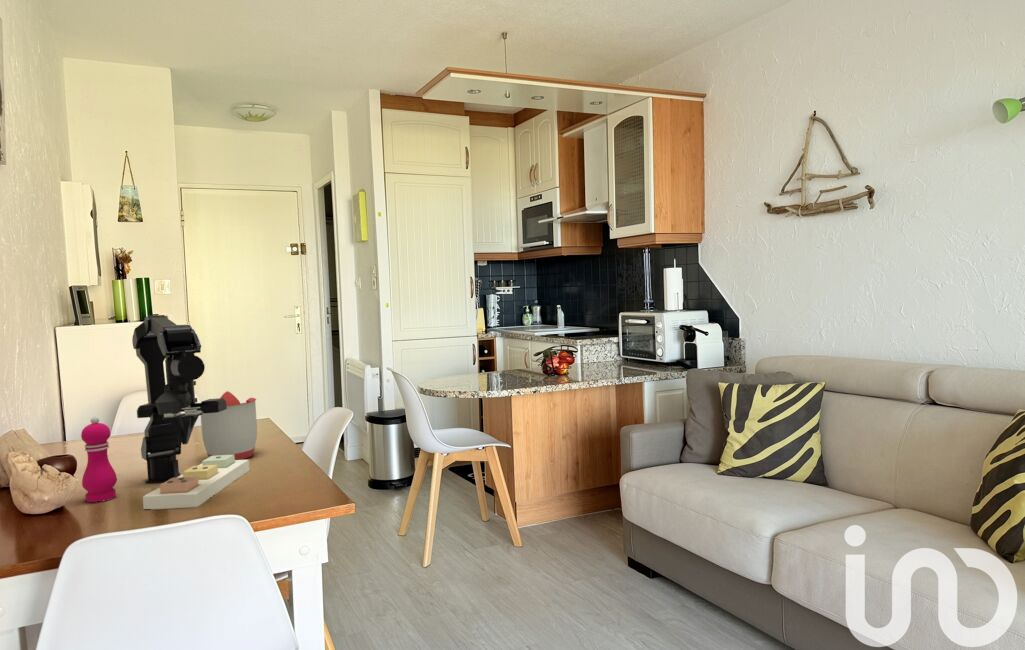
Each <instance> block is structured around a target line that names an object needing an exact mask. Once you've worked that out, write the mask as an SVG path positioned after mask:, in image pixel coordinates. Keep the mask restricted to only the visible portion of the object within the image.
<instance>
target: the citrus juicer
mask: <svg viewBox="0 0 1025 650" xmlns="http://www.w3.org/2000/svg"><path fill="white" fill-rule="evenodd" d="M219 398H223V399H224V400H225V401H226V405H227V409H225V410H223V411H220V412H217V413H205V414H204V413H203V414H202V415H200V423H201V435H202V437H201V438H202V442H203V446H204V449H205V450H206V455H207V456H208V458H209V457H211V456H216V455H234V458H235V460H246V459H247V458H248V459H249V457H250V458H251V457H252V456H253V455H254V451H255V449H256V444H257V442H256V441H257V435H258V424H257V423H258V421H257V409H256V401H257V398H255V397H249V398H247V399H246V400H245V402H243V403H241V401H240V400H239V399H238V398H237V397H236V396H235V395H234V394H233V393H232V392H230V391H228V390H226V391H225V392H223V394H222V395H221V396H220V397H219ZM201 412H202V411H201Z"/></svg>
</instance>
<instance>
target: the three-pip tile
mask: <svg viewBox="0 0 1025 650" xmlns="http://www.w3.org/2000/svg"><path fill="white" fill-rule="evenodd" d="M197 486H199V485H198V476H197V477H179V476H178V478H177V477H176V478H171V479H169V480H168V481H166V482H162V483H161V484H159V487H160V493H161V494H170V493H188V492H189V491H191V490H193V489H194V488H196V487H197Z"/></svg>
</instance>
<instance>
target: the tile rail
mask: <svg viewBox="0 0 1025 650" xmlns="http://www.w3.org/2000/svg"><path fill="white" fill-rule="evenodd" d="M197 466H202V463H200V464H198V465H197ZM249 471H250V459H240V460H235V463H234V464H232V465H230V466H229V467H227V468H218V474H216V475H215V476H213V477H212V478H210V479H207V480H198V485H199V486H197V487H196V488H194V489H193V490H191V491H189V492H188V493H170V494H161V493H160V486H159V487H158V488H156V489H154V490H152V491H150V492H149V493H147V494H145V495H143V496H142V505H143V510H144V509H151V510H165V509H167V510H168V509H186V508H188V509H189V508H198V507H200V506H201V505H202V504H204V503H205V502H206V501H208V500H209V499H210V497H211V498H212V497H214V496H216V495H217V494H218V493H219V492H221V491H222V490H223V489H225V488H227V487H228V486H229V485H231V484H232V483H234V482H235V481H237V480H238V479H239V478H241V477H242V476H243V475H245V474H246V473H248V472H249ZM178 477H183V474H182V473H181V474H180V476H178ZM178 477H176V478H178ZM213 495H214V496H213Z"/></svg>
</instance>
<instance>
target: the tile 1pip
mask: <svg viewBox="0 0 1025 650" xmlns="http://www.w3.org/2000/svg"><path fill="white" fill-rule="evenodd" d="M234 463H235V458H234V455H216V456H211V457H209V456H208V457H207V458H205V459H203V460H201V464H202V466H204V465H217V468H227V467H229V466H230V465H232V464H234Z"/></svg>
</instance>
